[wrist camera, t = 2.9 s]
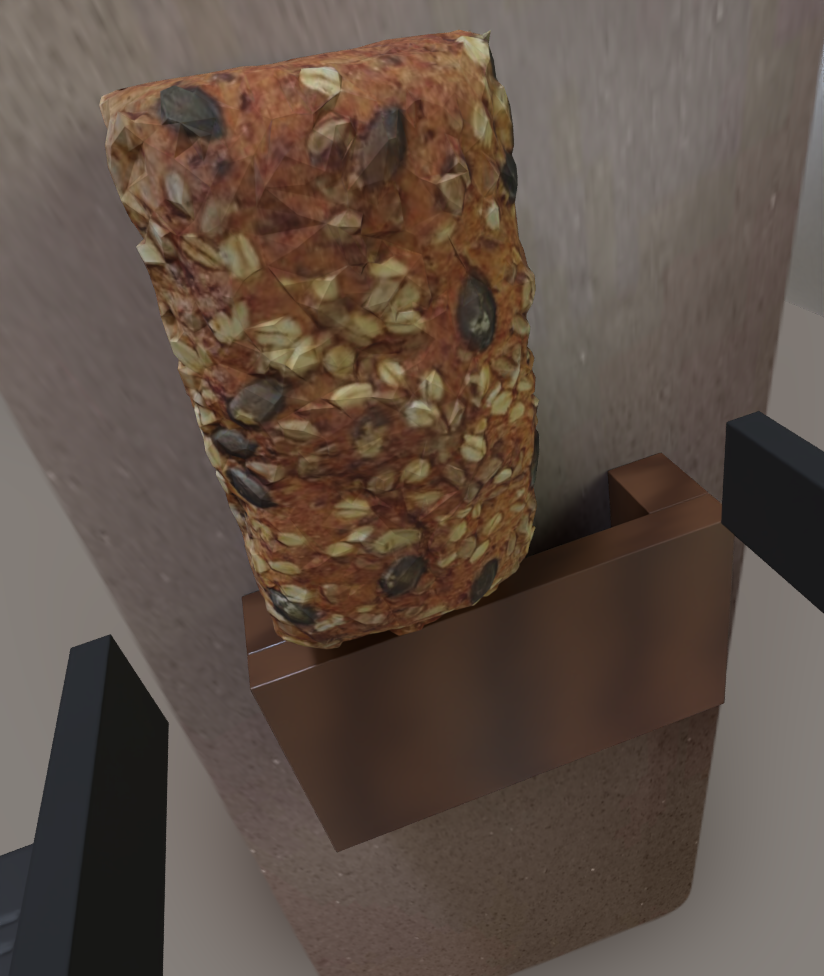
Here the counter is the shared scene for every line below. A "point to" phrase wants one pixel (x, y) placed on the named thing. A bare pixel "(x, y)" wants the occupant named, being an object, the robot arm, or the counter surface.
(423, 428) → the bread
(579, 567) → the shelf
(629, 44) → the counter surface
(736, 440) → the robot arm
